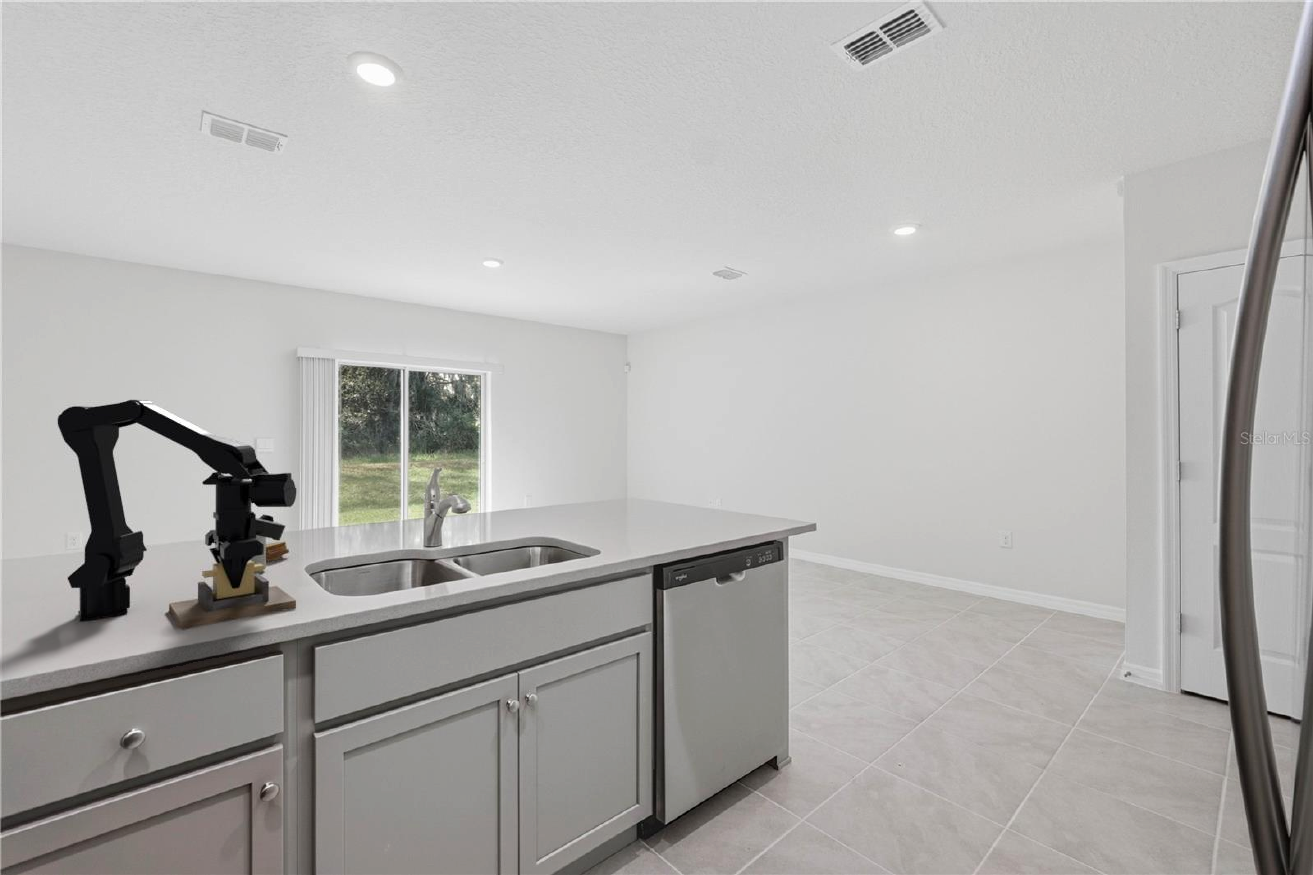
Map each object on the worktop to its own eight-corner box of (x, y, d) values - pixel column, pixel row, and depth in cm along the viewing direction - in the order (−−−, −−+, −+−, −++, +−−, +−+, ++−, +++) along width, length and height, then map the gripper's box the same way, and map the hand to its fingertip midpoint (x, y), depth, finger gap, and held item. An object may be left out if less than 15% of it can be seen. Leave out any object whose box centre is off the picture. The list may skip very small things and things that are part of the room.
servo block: (205, 600, 110) (205, 569, 110) (201, 596, 113) (201, 565, 113) (264, 591, 117) (265, 561, 117) (259, 586, 120) (259, 557, 120)
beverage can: (249, 576, 138) (249, 526, 138) (227, 574, 139) (227, 525, 139) (272, 570, 144) (272, 522, 144) (250, 568, 146) (250, 520, 145)
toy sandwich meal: (262, 553, 163) (262, 536, 163) (297, 558, 158) (297, 540, 158) (215, 563, 151) (215, 545, 151) (251, 568, 147) (251, 550, 147)
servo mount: (181, 629, 103) (181, 599, 103) (169, 611, 113) (169, 583, 113) (296, 607, 117) (296, 580, 116) (276, 592, 126) (276, 567, 126)
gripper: (294, 509, 114) (293, 588, 114) (268, 499, 127) (268, 570, 127) (224, 514, 106) (224, 599, 106) (204, 503, 118) (204, 579, 119)
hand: (233, 585), depth 115 cm, fingers closed on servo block, 4 cm apart
